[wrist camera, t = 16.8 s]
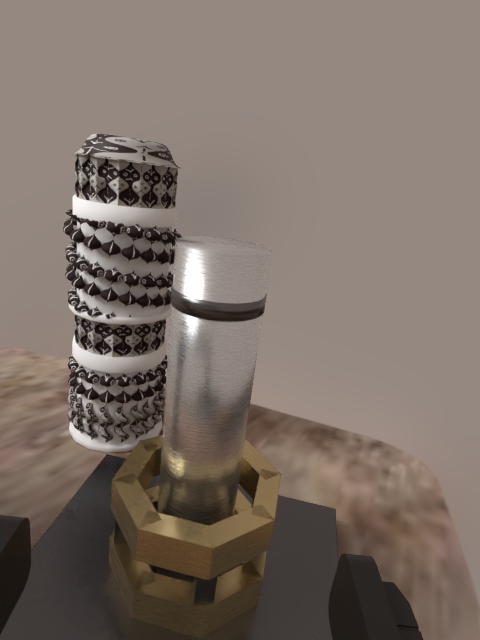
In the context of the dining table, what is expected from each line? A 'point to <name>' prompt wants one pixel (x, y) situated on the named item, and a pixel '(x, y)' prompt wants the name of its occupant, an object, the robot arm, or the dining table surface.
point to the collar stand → (179, 562)
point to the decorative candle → (120, 289)
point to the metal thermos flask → (209, 376)
